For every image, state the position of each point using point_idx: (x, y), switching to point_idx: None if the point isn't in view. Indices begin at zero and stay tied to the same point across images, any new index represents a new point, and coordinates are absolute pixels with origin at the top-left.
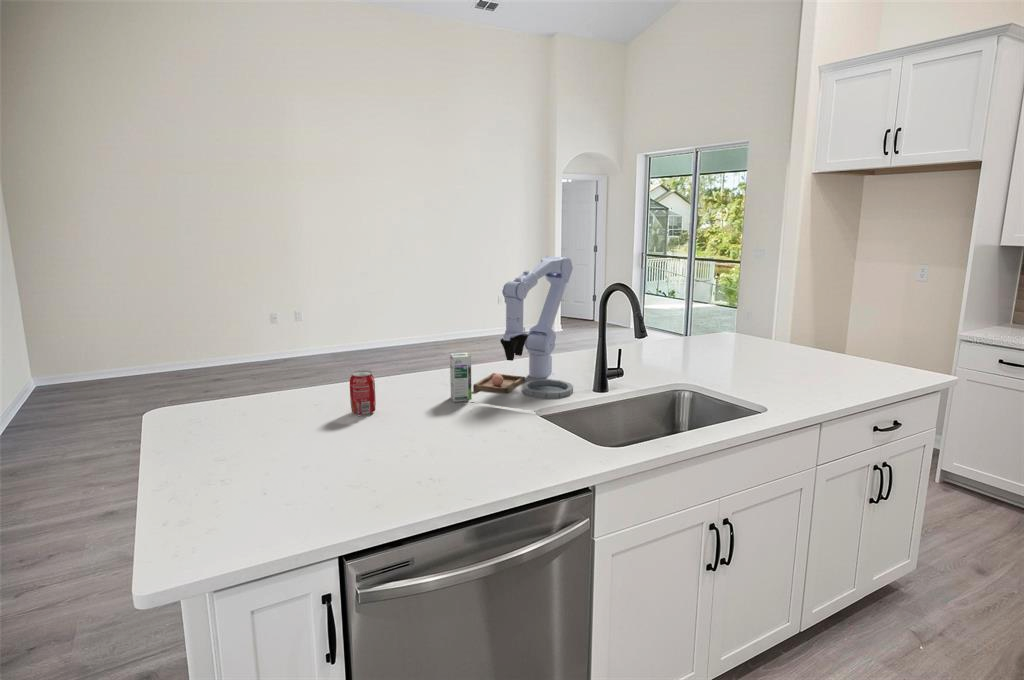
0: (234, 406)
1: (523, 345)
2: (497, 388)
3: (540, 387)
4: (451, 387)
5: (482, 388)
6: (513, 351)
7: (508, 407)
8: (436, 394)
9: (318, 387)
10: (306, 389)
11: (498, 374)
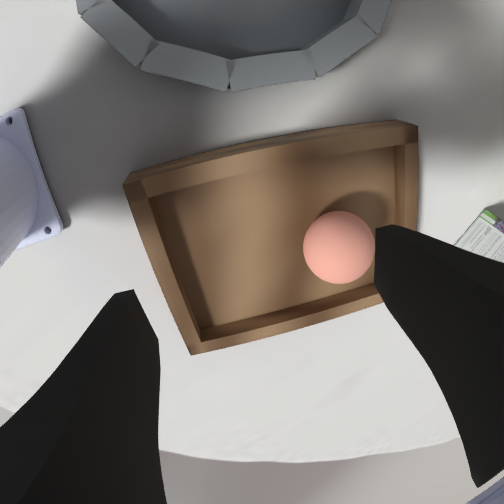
0: None
1: (72, 375)
2: (416, 179)
3: (199, 10)
4: None
5: None
6: (485, 258)
7: (493, 56)
8: None
9: (427, 444)
10: (437, 441)
11: (353, 260)
